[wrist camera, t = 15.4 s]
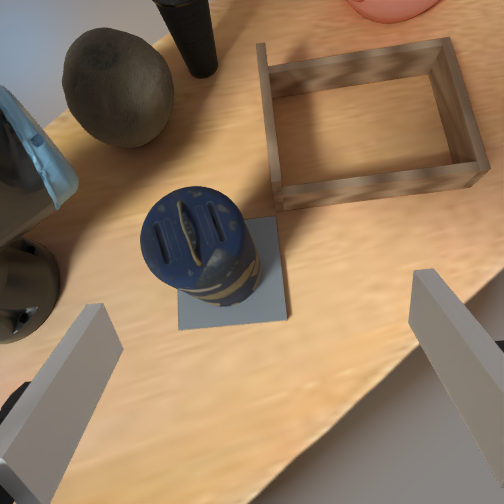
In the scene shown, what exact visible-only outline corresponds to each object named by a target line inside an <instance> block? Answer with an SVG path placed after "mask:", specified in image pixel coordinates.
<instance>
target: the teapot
mask: <svg viewBox="0 0 504 504" xmlns="http://www.w3.org/2000/svg"><path fill="white" fill-rule="evenodd" d="M347 1H348V2H349V4H350V5H351V6H352V7H353V8H354V9H355V10H356V11H357V12H358V13H359V14H361V15H362V16H364V17H365V18H367V19H369V20H371V21H374V22H378V23H386V24H389V23H397V22H401V21H404V20H407V19H410V18H412V17H414V16H416V15H418V14H420V13H422V12H423V11H425V10H426V9H428V8H429V7H431V6H432V5H433V4H435V3H436V2H437V1H438V0H347Z"/></svg>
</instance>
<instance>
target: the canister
mask: <svg viewBox="0 0 504 504" xmlns="http://www.w3.org/2000/svg"><path fill="white" fill-rule="evenodd" d="M140 244H141V251H142V255H143V257H144V260H145V262H146V264H147V266H148V267H149V269H150V270H151V272H152V273H153V274H154V275H155V276H156V277H158V278H159V279H160V280H161V281H163V282H164V283H166V284H168V285H170V286H172V287H174V288H176V289H178V290H181V291H183V292H185V293H187V294H189V295H190V296H192V297H195V298H197V299H199V300H202V301H204V302H206V303H208V304H211V305H214V306H219V307H228V306H233V305H236V304H239V303H241V302H243V301H244V300H246V299H247V298H248V297H249V296H250V295H251V294H252V293H253V292H254V290H255V289H256V287H257V285H258V283H259V280H260V277H261V261H260V258H259V255H258V252H257V249H256V246H255V244H254V242H253V238H252V236H251V235H250V233H249V230H248V228H247V226H246V223H245V221H244V219H243V217H242V214H241V212H240V211H239V209H238V208H237V206H236V205H235V204H234V203H233V202H232V200H231V199H229V198H228V197H227V196H226V195H224V194H222V193H221V192H219V191H216V190H214V189H211V188H207V187H201V186H192V187H185V188H181V189H178V190H175V191H173V192H171V193H169V194H168V195H166V196H164V197H163V198H162V199H160V200H159V201H158V202H157V203H156V204H155V205H154V206H153V207H152V209H151V210H150V211H149V213H148V215H147V217H146V218H145V221H144V223H143V226H142V230H141V235H140Z"/></svg>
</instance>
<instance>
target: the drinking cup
mask: <svg viewBox="0 0 504 504" xmlns="http://www.w3.org/2000/svg"><path fill="white" fill-rule="evenodd" d="M152 1H153V2H154V3H156V5H157V7H158V9H159V11H160V13H161V15H162V17H163V19H164V21H165V23H166V25H167V27H168V29H169V31H170V33H171V35H172V37H173V39H174V41H175V43H176V45H177V47H178V49H179V51H180V53H181V55H182V57H183V59H184V61H185V63H186V65H187V67H188V69H189V71H190V73H191V74H192V75H193V76H194V77H197V78H206V77H209V76H211V75H212V74H213V73H214V72H215V71H216V69H217V66H218V62H217V55H216V49H215V42H214V36H213V29H212V23H211V16H210V10H209V3H208V0H152Z"/></svg>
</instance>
